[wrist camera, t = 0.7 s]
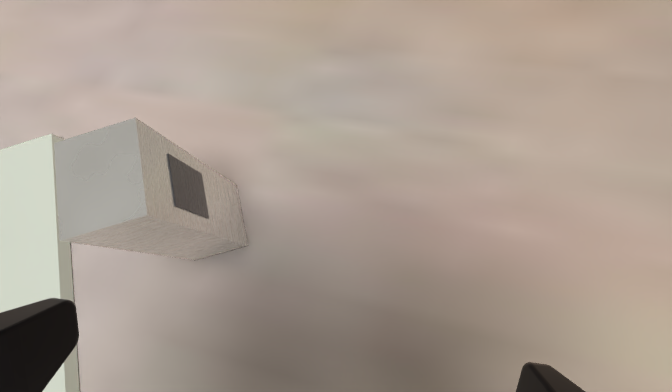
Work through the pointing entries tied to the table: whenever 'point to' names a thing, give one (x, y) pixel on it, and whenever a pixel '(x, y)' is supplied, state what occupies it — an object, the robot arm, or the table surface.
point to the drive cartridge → (144, 195)
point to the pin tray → (34, 239)
